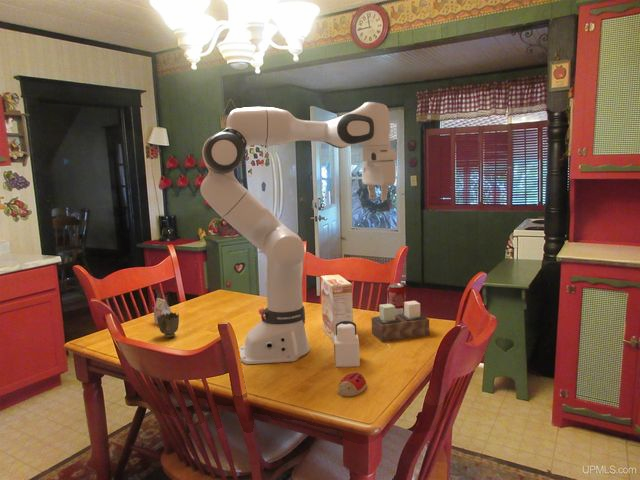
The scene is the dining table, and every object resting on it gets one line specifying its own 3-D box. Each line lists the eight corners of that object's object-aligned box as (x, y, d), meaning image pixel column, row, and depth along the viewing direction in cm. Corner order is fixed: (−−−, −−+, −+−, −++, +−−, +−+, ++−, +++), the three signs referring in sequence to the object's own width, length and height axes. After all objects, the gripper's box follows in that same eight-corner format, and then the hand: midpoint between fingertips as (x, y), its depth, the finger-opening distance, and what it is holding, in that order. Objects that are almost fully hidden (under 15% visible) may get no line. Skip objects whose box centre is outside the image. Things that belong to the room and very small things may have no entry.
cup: (154, 337, 169) (152, 316, 168) (173, 332, 174) (171, 310, 173) (165, 342, 164) (163, 319, 163) (184, 336, 169) (182, 314, 168)
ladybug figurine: (332, 395, 122) (332, 382, 121) (348, 379, 130) (347, 367, 130) (357, 400, 119) (356, 387, 118) (371, 384, 127) (371, 371, 127)
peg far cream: (409, 321, 161) (409, 305, 160) (404, 318, 165) (404, 301, 164) (420, 320, 162) (420, 303, 161) (415, 316, 166) (414, 300, 165)
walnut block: (381, 341, 156) (381, 324, 155) (371, 333, 165) (371, 316, 164) (429, 335, 160) (429, 318, 160) (417, 327, 169) (417, 310, 168)
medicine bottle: (334, 357, 145) (333, 319, 143) (358, 357, 145) (357, 318, 143) (334, 367, 138) (333, 327, 136) (359, 366, 138) (358, 326, 136)
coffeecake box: (322, 329, 171) (319, 275, 168) (341, 327, 173) (339, 273, 170) (333, 343, 157) (331, 285, 154) (354, 341, 158) (352, 283, 155)
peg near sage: (384, 324, 159) (383, 308, 158) (379, 321, 162) (379, 304, 161) (395, 323, 159) (395, 306, 159) (390, 319, 163) (390, 303, 162)
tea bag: (163, 321, 187) (161, 296, 186) (172, 325, 183) (170, 299, 181) (154, 323, 185) (152, 298, 183) (163, 327, 180) (160, 301, 179)
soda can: (405, 318, 179) (405, 287, 177) (387, 318, 180) (386, 287, 178) (405, 313, 185) (405, 282, 183) (388, 312, 187) (387, 282, 185)
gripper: (356, 156, 160) (358, 198, 162) (379, 154, 141) (380, 201, 143) (374, 156, 162) (375, 197, 164) (399, 153, 142) (400, 200, 144)
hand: (378, 199), depth 153 cm, fingers open, 8 cm apart
